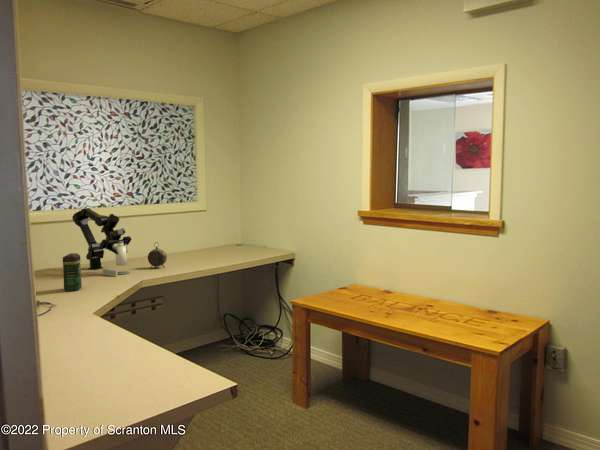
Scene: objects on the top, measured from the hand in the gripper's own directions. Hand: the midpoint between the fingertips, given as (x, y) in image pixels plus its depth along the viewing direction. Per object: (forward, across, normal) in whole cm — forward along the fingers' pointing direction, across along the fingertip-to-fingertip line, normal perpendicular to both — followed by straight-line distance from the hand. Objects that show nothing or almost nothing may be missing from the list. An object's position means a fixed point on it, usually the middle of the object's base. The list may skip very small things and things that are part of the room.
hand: (122, 253), depth 302 cm
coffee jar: (+18, -39, -1) cm, 43 cm away
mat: (+8, 0, +10) cm, 12 cm away
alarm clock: (+11, +23, +7) cm, 26 cm away
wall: (+8, -8, +10) cm, 14 cm away
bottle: (+4, 0, +6) cm, 7 cm away
